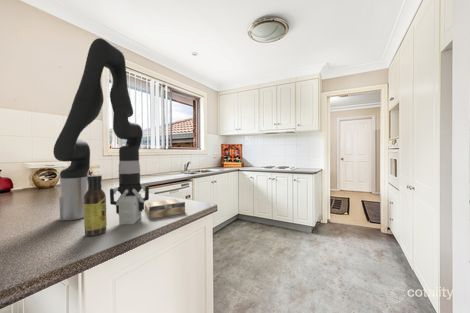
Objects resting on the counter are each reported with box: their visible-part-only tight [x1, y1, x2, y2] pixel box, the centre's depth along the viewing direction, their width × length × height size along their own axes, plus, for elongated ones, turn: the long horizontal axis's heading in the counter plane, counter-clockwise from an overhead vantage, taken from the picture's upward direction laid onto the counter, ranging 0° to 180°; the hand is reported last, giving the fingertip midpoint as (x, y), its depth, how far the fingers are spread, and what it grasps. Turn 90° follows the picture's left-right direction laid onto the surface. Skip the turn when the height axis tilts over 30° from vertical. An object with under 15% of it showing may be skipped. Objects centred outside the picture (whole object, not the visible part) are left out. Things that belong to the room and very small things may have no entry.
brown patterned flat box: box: [144, 198, 186, 219], centre depth 94 cm, size 15×16×5 cm
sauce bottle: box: [83, 174, 107, 237], centre depth 69 cm, size 6×6×20 cm
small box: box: [118, 192, 142, 226], centre depth 80 cm, size 8×6×10 cm
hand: (130, 212), depth 80 cm, fingers closed on small box, 7 cm apart
